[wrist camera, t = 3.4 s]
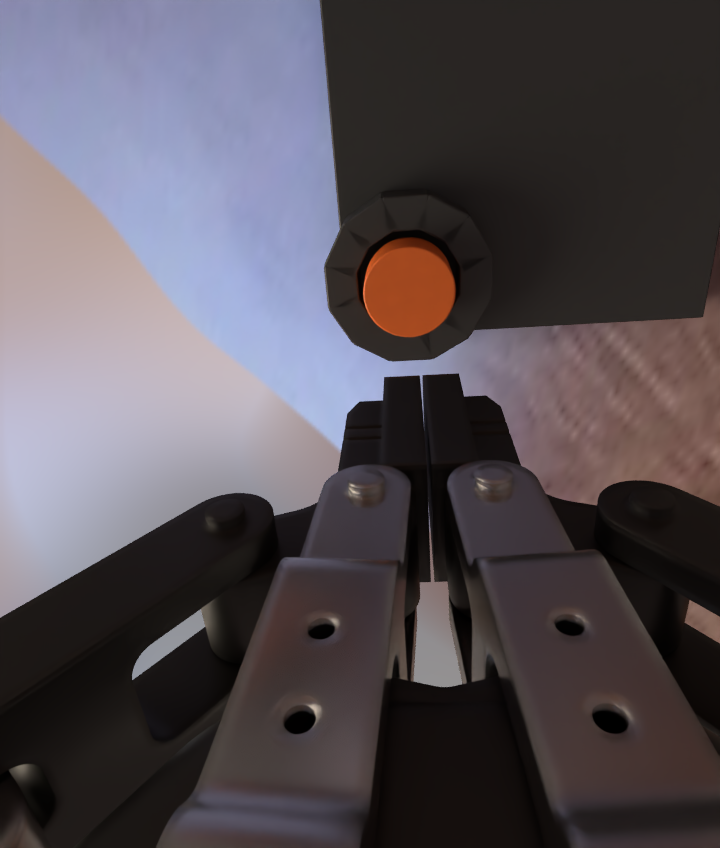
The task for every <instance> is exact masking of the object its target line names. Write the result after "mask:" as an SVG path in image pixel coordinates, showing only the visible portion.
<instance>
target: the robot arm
mask: <svg viewBox="0 0 720 848" xmlns="http://www.w3.org/2000/svg"><path fill="white" fill-rule="evenodd" d="M423 406H424V422H423V410H422V398H421V386H420V376H401V377H384V394H383V401H364V402H359V403H358V404H357V405H356V406H355V407H354V408H353V409H352V410H351V411H350V412H349V413H348V414H347V419H346V426H345V432H344V441H343V444H342V450H341V457H340V463H339V469H338V472H337V473H336V474H334V475H332V476H331V477H330V478H329V479H328V480H327V481H326V482H325V484H324V486H323V488H322V491H321V494H320V497H319V500H318V502H317V503H315V504H313V505H311V506H309V507H306V508H304V509H301V510H297V511H293V512H289V513H284V514H280V515H276V516H274V513H273V508H272V506H271V505H270V504H269V502H268V501H267V500H265V499H264V498H262V497H259V496H257V495H253V494H245V493H233V494H226V495H221V496H217V497H214V498H211V499H208V500H206V501H204V502H202V503H200V504H198V505H196V506H195V507H193V508H191V509H189V510H188V511H186V512H184V513H182V514H181V515H179V516H177V517H175V518H174V519H172V520H170V521H168V522H167V523H165V524H163V525H161V526H160V527H158V528H156V529H155V530H153V531H151V532H149V533H147V534H146V535H144V536H142V537H140V538H139V539H137V540H135V541H133V542H132V543H130V544H128V545H127V546H125V547H123V548H121V549H120V550H118V551H116V552H115V553H113V554H111V555H109V556H107V557H106V558H104V559H102V560H100V561H99V562H97V563H95V564H93V565H92V566H90V567H88V568H87V569H85V570H83V571H81V572H80V573H78V574H76V575H74V576H73V577H71V578H69V579H67V580H65V581H64V582H62V583H60V584H58V585H57V586H55V587H53V588H52V589H50V590H48V591H46V592H44V593H43V594H41V595H39V596H38V597H36V598H34V599H32V600H31V601H29V602H27V603H25V604H24V605H22V606H20V607H18V608H17V609H15V610H13V611H11V612H10V613H8V614H6V615H4V616H3V617H1V618H0V848H720V644H719V643H718V642H716V641H714V640H713V639H711V638H709V637H708V636H706V635H704V634H703V633H701V632H699V631H698V630H696V629H694V628H693V627H691V626H689V625H688V624H686V623H684V622H685V618H686V613H687V609H688V604H689V600H691V601H693V602H695V603H697V604H698V605H700V606H702V607H704V608H706V609H707V610H709V611H711V612H713V613H714V614H716V615H718V616H720V507H719V506H717V505H715V504H712V503H710V502H708V501H706V500H703V499H701V498H699V497H696V496H694V495H692V494H689V493H687V492H685V491H682V490H680V489H678V488H675V487H672V486H669V485H666V484H662V483H657V482H651V481H637V480H635V481H624V482H619V483H616V484H613V485H611V486H608V487H607V488H605V489H604V490H603V491H602V492H601V493H600V495H599V498H598V504H597V506H596V505H590V504H583V503H577V502H571V501H566V500H562V499H558V498H555V497H552V496H550V495H547V494H546V493H545V491H544V490H543V488H542V486H541V484H540V482H539V480H538V478H537V477H536V476H535V475H534V474H533V473H532V472H531V471H529V470H528V469H526V468H524V467H522V466H521V464H520V461H519V458H518V456H517V453H516V450H515V447H514V444H513V441H512V438H511V435H510V434H509V429H508V426H507V423H506V422H505V418H504V415H503V412H502V409H501V406H499V405H498V404H497V403H495V402H494V401H493V400H491V399H490V398H489V397H487V396H469V397H464V395H463V390H462V386H461V382H460V377H459V374H439V375H423ZM428 503H429V513H428ZM429 516H430V529H431V540H432V554H433V567H434V580H435V582H442V581H448V590H449V620H450V625H451V630H452V635H453V640H454V645H455V650H456V654H457V659H458V664H459V669H460V674H461V679H462V685H458V686H453V687H436V686H431V685H426V684H422V683H417V682H413V679H414V663H415V661H414V660H415V647H416V645H415V644H416V631H417V609H416V607H417V605H418V603H419V599H420V582H431V578H430V545H429ZM200 609H201V611H202V615H203V619H204V623H205V627H204V628H203V629H202V630H200V631H199V632H198V633H196V634H195V635H194V636H192V637H191V638H189V639H188V640H187V641H185V642H184V643H183V644H181V645H180V646H179V647H177V648H176V649H175V650H173V651H172V652H170V653H169V654H168V655H166V656H165V657H164V658H162V659H161V660H160V661H158V662H157V663H156V664H154V665H153V666H151V667H150V668H149V669H147V670H146V671H145V672H143V673H142V674H141V675H139V676H138V677H136V678H135V679H134V680H132V672H133V668H134V665H135V663H136V661H137V659H138V658H139V656H140V655H141V653H142V652H143V651H144V650H145V649H146V648H147V647H148V646H149V645H150V644H152V643H153V642H154V641H156V640H157V639H159V638H160V637H162V636H163V635H164V634H166V633H167V632H169V631H170V630H172V629H173V628H174V627H176V626H177V625H179V624H180V623H181V622H183V621H184V620H186V619H187V618H189V617H190V616H191V615H193V614H194V613H196V612H197V611H198V610H200Z"/></svg>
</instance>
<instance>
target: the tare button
mask: <svg viewBox="0 0 720 848" xmlns="http://www.w3.org/2000/svg"><path fill="white" fill-rule="evenodd" d="M455 295H456V286H455V280H454V277H453V274H452V271H451V268H450V265H449V262H448V260H447V258H446V257H445V255H444V254H443V252H442V251H441V250H440V249H439V248H438V247H436V246H435V245H434V244H432V243H431V242H429V241H427V240H424V239H421V238H416V237H403V238H398V239H395V240H392V241H390V242H388V243H387V244H385V245H384V246H382V247H381V248H380V249H379V250H378V251H377V252H376V253H375V254H374V256H373V257H372V259H371V260H370V262H369V265H368V267H367V271H366V275H365V281H364V288H363V297H364V303H365V307H366V309H367V312H368V314H369V315H370V317H371V318H372V320H373V321H374V322H375V323H376V324H377V325H378V326H379V327H380V328H382V329H383V330H385V331H386V332H388V333H391V334H393V335H396V336H401V337H416V336H420V335H424V334H426V333H429V332H431V331H433V330H434V329H436V328H437V327H438V326H439V325H441V324H442V323H443V322H444V320H445V319H446V318H447V317H448V315H449V314H450V312H451V310H452V307H453V304H454V301H455Z"/></svg>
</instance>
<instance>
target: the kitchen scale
mask: <svg viewBox="0 0 720 848" xmlns="http://www.w3.org/2000/svg"><path fill="white" fill-rule="evenodd" d="M320 8H321V19H322V31H323V42H324V53H325V65H326V76H327V88H328V99H329V110H330V122H331V133H332V145H333V156H334V168H335V179H336V190H337V202H338V213H339V225H340V231H339V233H338V235H337V238H336V240H335V242H334V244H333V246H332V249H331V251H330V253H329V255H328V258H327V260H326V262H325V267H324V272H325V282H326V292H327V301H328V308H329V311H330V312H331V314H332V315H333V317H334V318H335V319H336V321H337V322H338V324H339V325H340V326H341V328H342V329H343V331H344V332H345V333H346V335H347V336H348V338H349V339H350V340H351V342H352V343H354V345H357V346H359V347H361V348H363V349H365V350H367V351H369V352H371V353H373V354H376V355H378V356H380V357H382V358H384V359H386V360H388V361H409V360H428V359H434V358H436V357H438V356H439V355H441V354H443V353H444V352H446V351H448V350H449V349H451V348H453V347H454V346H456V345H458V344H459V343H461V342H463V341H464V340H466V339H468V338H469V336H470V335H471V334H472V332H473V331H474V330H482V329H500V328H518V327H536V326H554V325H572V324H590V323H608V322H626V321H644V320H662V319H681V318H699V317H703V314H704V309H705V303H706V298H707V293H708V287H709V282H710V277H711V271H712V266H713V260H714V255H715V250H716V244H717V239H718V234H719V228H720V0H320ZM403 237H416V238H421V239H424V240H427V241H429V242H431V243H432V244H434V245H435V246H436V247H438V248H439V249H440V250H441V251H442V252H443V254H444V255H445V257H446V258H447V260H448V262H449V265H450V268H451V271H452V274H453V277H454V280H455V286H456V295H455V301H454V304H453V307H452V310H451V312H450V314H449V315H448V317H447V318H446V319H445V320H444V322H443V323H442V324H441V325H439V326H438V327H437V328H436V329H434V330H433V331H431V332H429V333H426V334H424V335H420V336H416V337H401V336H396V335H393V334H391V333H388V332H386V331H385V330H383V329H382V328H380V327H379V326H378V325H377V324H376V323H375V322H374V321H373V320H372V318H371V317H370V315H369V314H368V312H367V309H366V307H365V303H364V297H363V288H364V281H365V275H366V271H367V267H368V265H369V262H370V260H371V259H372V257H373V256H374V254H375V253H376V252H377V251H378V250H379V249H380V248H381V247H382V246H384V245H385V244H387V243H388V242H390V241H392V240H395V239H398V238H403Z"/></svg>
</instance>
